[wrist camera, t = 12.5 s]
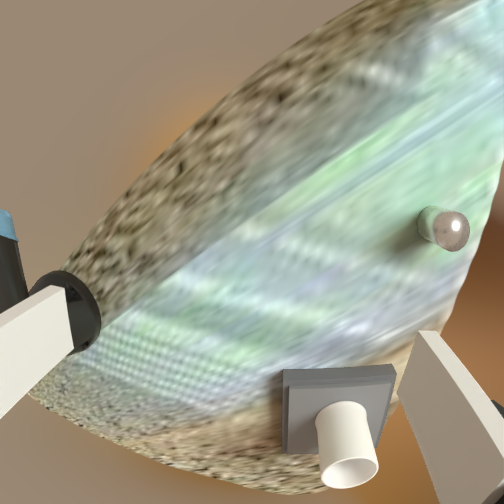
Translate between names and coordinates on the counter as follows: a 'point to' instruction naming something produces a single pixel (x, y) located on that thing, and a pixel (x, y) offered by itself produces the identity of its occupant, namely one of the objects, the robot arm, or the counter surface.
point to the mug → (345, 445)
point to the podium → (332, 400)
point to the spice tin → (444, 227)
